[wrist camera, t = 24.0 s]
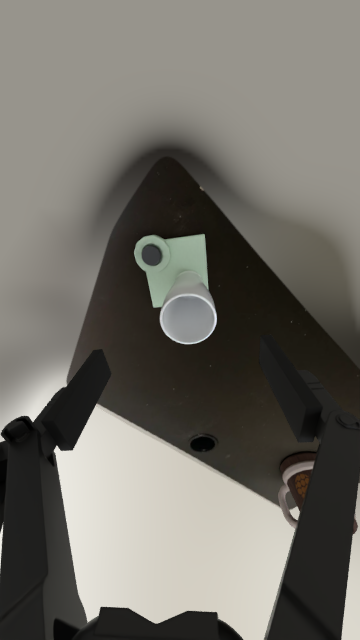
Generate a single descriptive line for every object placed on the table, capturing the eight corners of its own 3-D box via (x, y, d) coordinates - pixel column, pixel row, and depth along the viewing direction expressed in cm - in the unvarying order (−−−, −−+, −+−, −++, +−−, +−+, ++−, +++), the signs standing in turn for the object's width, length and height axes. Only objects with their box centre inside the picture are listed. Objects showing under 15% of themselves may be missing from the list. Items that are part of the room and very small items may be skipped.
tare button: (141, 246, 32) (139, 247, 31) (159, 244, 32) (158, 245, 30) (145, 264, 33) (143, 266, 32) (162, 262, 33) (161, 264, 32)
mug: (308, 443, 57) (344, 512, 43) (339, 463, 60) (381, 532, 47) (257, 470, 64) (274, 536, 51) (287, 487, 68) (310, 552, 54)
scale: (135, 237, 34) (130, 238, 31) (203, 227, 33) (204, 228, 30) (149, 305, 40) (146, 311, 37) (208, 299, 38) (209, 305, 36)
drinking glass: (213, 272, 35) (227, 303, 21) (199, 305, 38) (204, 351, 24) (177, 260, 34) (168, 284, 20) (166, 294, 37) (152, 335, 23)
